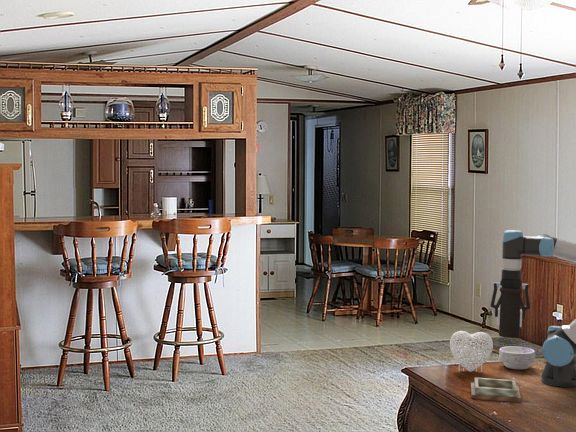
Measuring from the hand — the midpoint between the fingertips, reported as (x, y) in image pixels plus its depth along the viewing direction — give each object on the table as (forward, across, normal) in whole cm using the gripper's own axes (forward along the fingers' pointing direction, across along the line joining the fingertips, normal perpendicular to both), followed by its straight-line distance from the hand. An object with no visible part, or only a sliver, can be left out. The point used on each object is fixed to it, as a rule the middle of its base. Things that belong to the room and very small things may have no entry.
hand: (509, 325), depth 343 cm
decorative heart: (+24, +14, -17) cm, 33 cm away
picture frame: (+24, +5, +17) cm, 30 cm away
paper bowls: (+24, -6, -31) cm, 40 cm away
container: (+5, 0, 0) cm, 5 cm away
